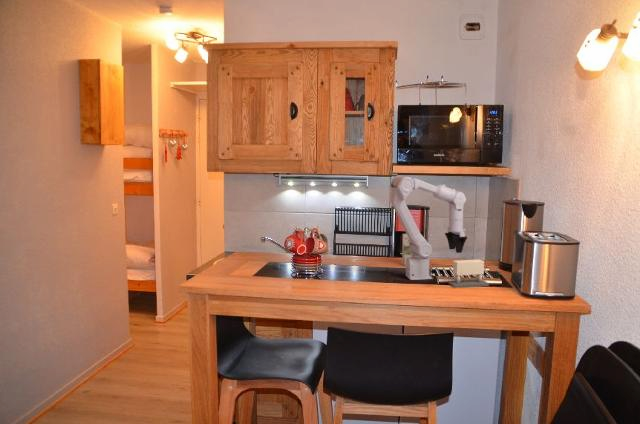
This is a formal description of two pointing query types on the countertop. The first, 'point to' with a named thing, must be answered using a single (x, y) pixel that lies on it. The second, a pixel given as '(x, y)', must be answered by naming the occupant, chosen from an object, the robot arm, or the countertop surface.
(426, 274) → the robot arm
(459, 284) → the peg stand
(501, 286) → the countertop surface
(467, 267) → the beige rectangular block
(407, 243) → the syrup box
